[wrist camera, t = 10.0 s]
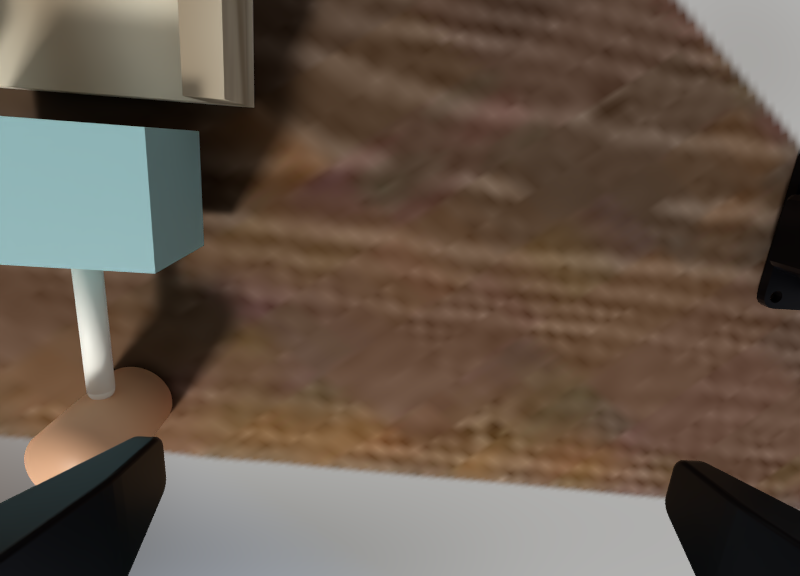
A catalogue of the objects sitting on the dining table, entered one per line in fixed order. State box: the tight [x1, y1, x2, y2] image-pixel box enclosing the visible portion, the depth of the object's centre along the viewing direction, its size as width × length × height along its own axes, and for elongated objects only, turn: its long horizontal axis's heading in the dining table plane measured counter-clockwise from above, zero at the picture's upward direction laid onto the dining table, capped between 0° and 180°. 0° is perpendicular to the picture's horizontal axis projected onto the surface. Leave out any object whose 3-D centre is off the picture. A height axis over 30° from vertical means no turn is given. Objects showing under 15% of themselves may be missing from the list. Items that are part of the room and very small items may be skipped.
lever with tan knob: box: [0, 116, 204, 485], centre depth 17 cm, size 7×12×5 cm, turn 176°
